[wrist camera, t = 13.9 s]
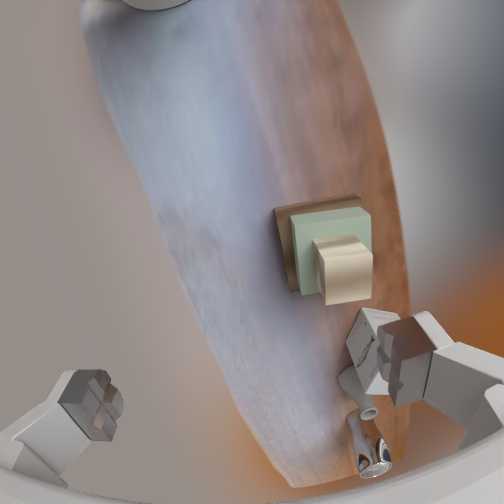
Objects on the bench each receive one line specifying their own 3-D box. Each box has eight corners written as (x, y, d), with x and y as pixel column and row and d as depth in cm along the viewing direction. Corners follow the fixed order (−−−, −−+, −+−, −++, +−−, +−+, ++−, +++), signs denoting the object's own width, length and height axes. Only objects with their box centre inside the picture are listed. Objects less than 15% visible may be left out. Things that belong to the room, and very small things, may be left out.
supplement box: (360, 305, 47) (388, 356, 36) (397, 312, 48) (429, 359, 36) (343, 341, 50) (363, 395, 38) (379, 346, 51) (403, 396, 39)
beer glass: (359, 427, 60) (375, 479, 46) (337, 422, 59) (351, 477, 45) (380, 409, 58) (400, 462, 44) (358, 403, 57) (377, 460, 43)
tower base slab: (273, 207, 42) (275, 215, 38) (351, 192, 41) (361, 198, 37) (287, 279, 46) (290, 292, 42) (358, 263, 45) (367, 275, 42)
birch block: (313, 239, 35) (324, 261, 30) (354, 234, 35) (372, 254, 29) (315, 278, 37) (325, 305, 32) (354, 273, 37) (370, 298, 31)
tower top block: (290, 215, 38) (294, 225, 35) (359, 206, 38) (370, 215, 34) (297, 280, 42) (301, 295, 38) (361, 270, 41) (370, 284, 37)
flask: (347, 393, 55) (359, 432, 46) (329, 376, 53) (341, 416, 44) (378, 374, 54) (395, 411, 44) (363, 355, 52) (380, 394, 42)
